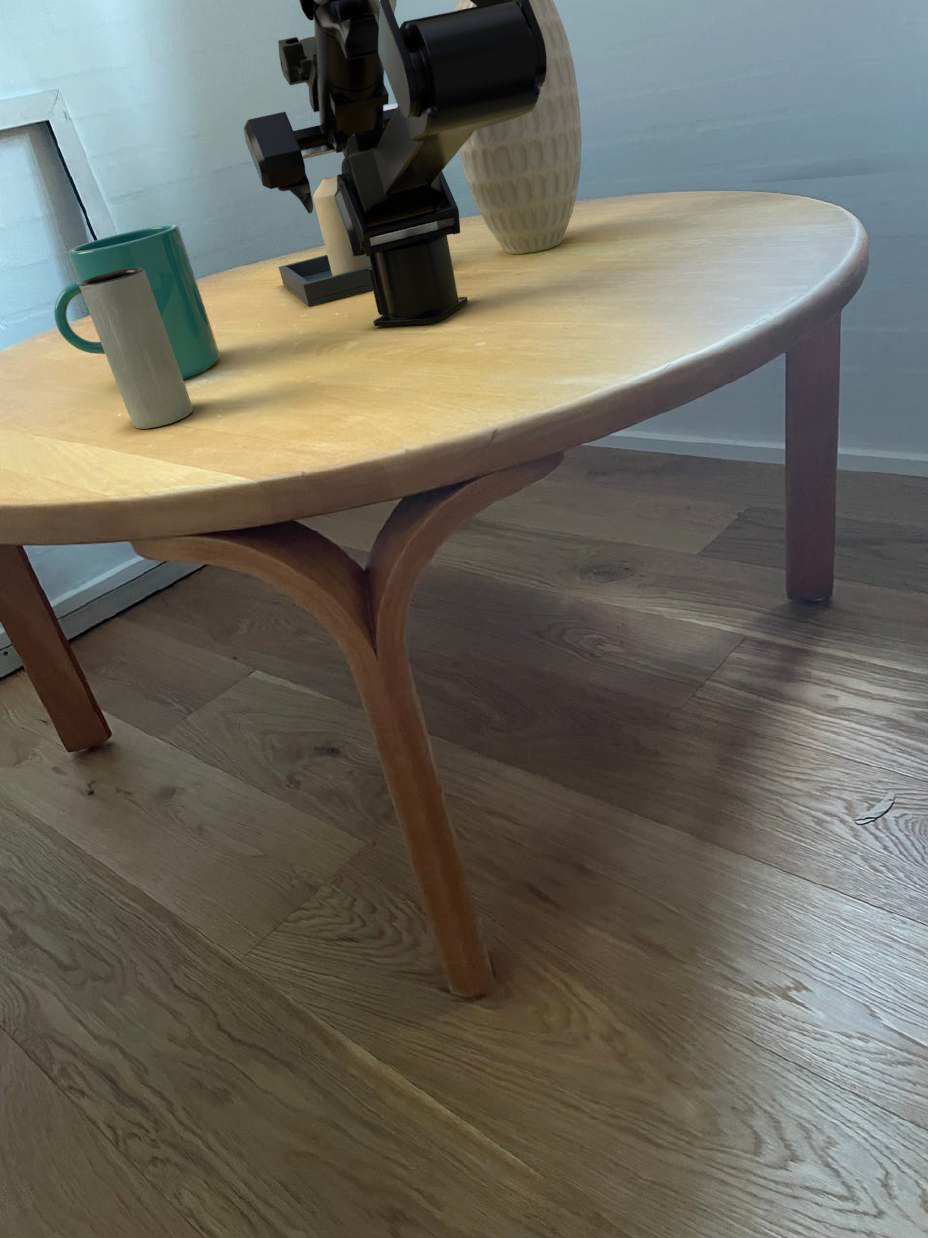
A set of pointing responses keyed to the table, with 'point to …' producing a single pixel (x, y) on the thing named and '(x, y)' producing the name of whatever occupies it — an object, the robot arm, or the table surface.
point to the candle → (335, 231)
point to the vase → (531, 153)
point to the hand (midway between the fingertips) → (352, 198)
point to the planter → (137, 347)
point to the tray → (322, 281)
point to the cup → (169, 284)
